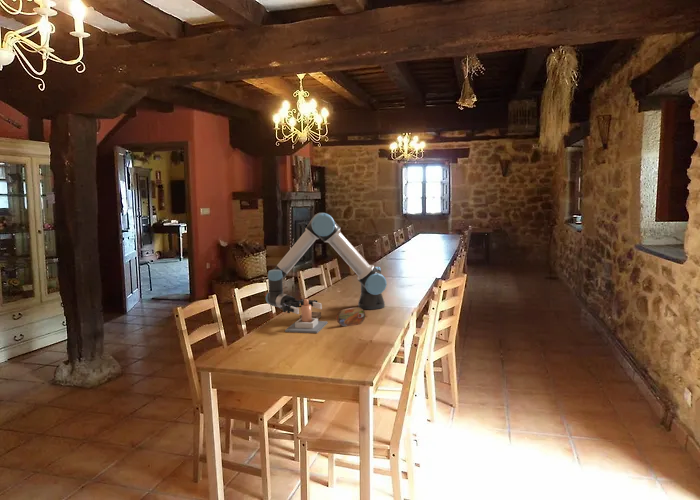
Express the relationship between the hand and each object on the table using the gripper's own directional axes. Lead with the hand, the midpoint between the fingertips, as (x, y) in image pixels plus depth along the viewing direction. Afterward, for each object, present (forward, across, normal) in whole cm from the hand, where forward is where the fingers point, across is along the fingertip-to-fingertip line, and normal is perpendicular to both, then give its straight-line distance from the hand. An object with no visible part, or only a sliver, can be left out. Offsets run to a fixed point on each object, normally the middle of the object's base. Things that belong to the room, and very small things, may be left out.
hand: (310, 308), depth 246 cm
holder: (-3, 0, -10) cm, 11 cm away
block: (-16, -12, -10) cm, 22 cm away
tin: (+8, -19, -10) cm, 23 cm away
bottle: (-3, 0, -9) cm, 10 cm away
